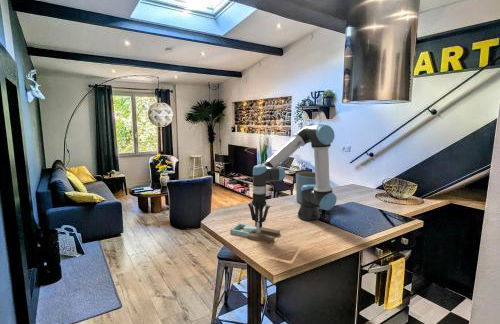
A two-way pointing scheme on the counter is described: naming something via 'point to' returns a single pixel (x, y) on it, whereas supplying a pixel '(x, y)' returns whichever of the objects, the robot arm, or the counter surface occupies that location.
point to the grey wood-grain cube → (253, 229)
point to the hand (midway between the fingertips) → (258, 232)
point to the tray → (236, 231)
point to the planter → (303, 182)
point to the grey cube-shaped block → (247, 228)
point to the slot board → (265, 235)
